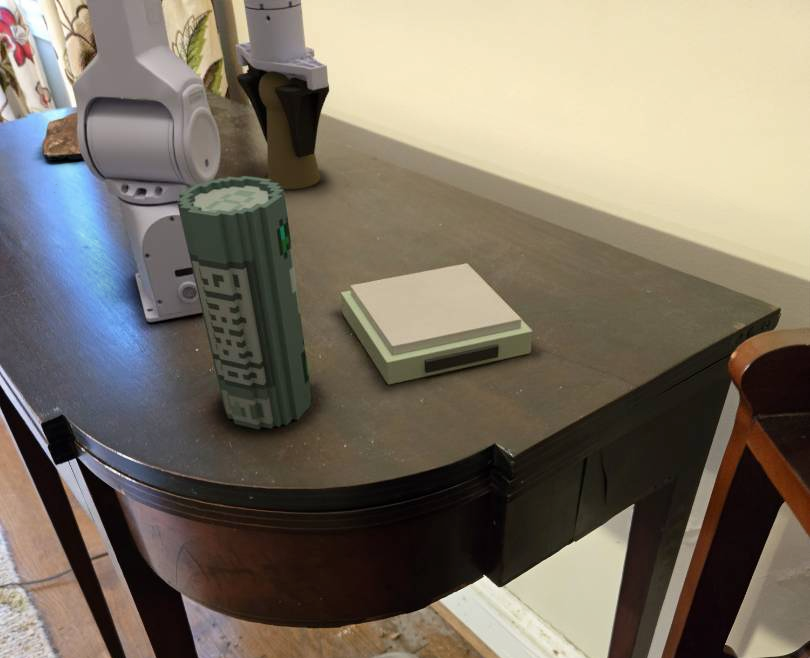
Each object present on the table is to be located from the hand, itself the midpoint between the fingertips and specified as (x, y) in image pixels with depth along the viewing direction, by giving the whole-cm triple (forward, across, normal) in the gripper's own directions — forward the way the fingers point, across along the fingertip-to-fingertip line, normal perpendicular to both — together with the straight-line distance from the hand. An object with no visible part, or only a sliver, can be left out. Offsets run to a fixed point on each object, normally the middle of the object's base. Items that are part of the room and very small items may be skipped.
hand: (290, 148), depth 87 cm
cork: (+4, 0, 0) cm, 4 cm away
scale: (+3, -37, +12) cm, 39 cm away
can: (+4, -37, +27) cm, 46 cm away
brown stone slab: (+4, +29, +12) cm, 31 cm away
